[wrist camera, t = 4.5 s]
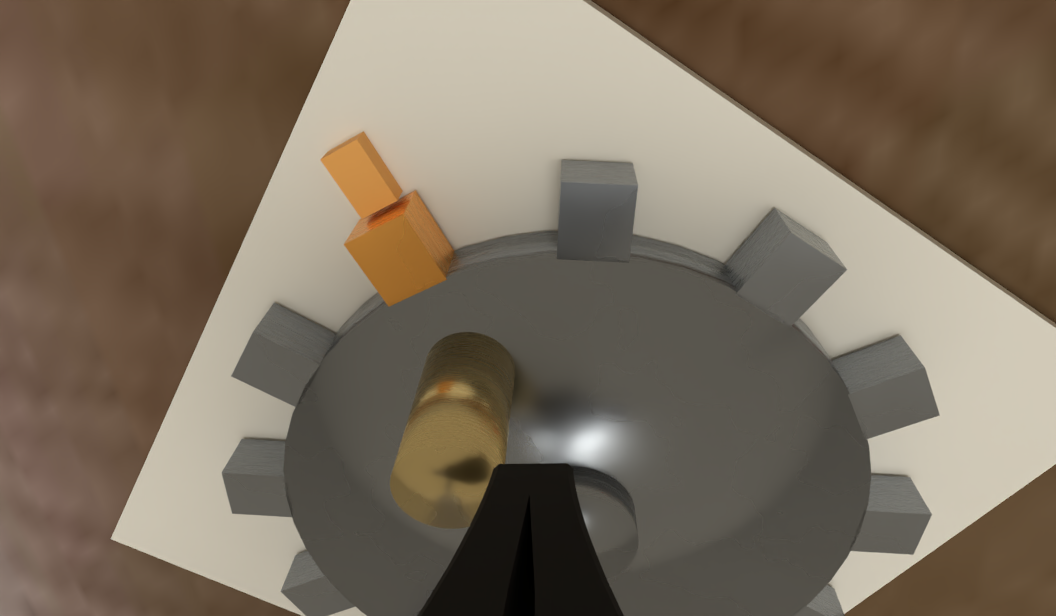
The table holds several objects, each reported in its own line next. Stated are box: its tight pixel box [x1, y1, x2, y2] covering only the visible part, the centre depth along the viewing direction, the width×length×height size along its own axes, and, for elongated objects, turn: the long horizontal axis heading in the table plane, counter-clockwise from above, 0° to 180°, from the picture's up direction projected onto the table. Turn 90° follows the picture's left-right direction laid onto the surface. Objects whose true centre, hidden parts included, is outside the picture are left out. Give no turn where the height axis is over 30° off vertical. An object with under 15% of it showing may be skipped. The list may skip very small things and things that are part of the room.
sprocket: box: [222, 160, 940, 616], centre depth 18 cm, size 19×19×5 cm
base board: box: [111, 0, 1056, 616], centre depth 21 cm, size 22×22×2 cm
